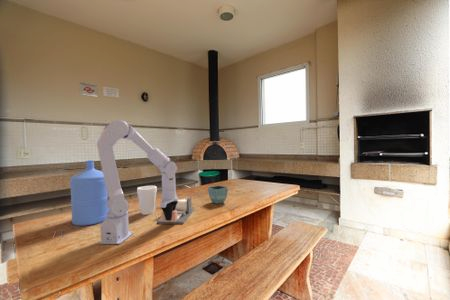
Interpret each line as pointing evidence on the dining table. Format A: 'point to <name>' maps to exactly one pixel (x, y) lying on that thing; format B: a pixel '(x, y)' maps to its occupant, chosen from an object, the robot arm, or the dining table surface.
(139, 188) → the foam cup
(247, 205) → the dining table surface
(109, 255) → the dining table surface
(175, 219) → the pink rectangular block
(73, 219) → the water jug
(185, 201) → the dispenser
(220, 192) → the flower pot
